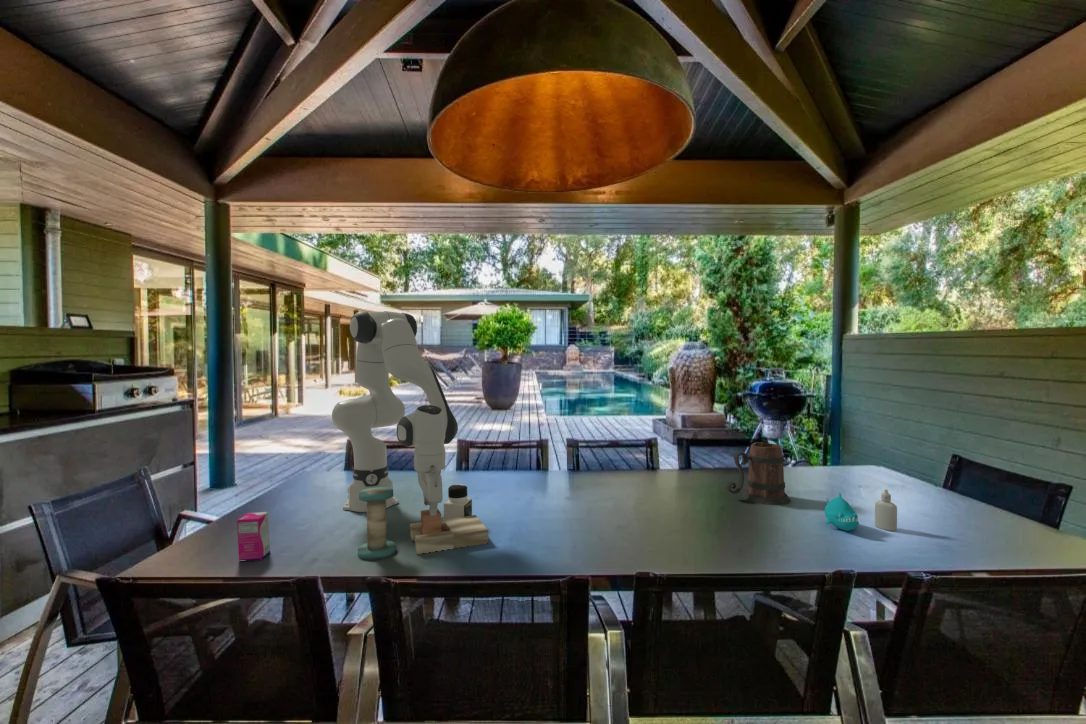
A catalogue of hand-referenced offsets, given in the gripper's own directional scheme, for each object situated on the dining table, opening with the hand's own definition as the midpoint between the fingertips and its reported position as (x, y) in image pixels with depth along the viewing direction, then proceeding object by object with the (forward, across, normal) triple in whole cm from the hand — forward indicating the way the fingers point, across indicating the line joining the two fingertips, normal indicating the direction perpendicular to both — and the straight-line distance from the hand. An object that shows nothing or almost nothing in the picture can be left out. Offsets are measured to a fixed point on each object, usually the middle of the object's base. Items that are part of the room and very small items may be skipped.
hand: (430, 509), depth 145 cm
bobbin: (+10, -2, +15) cm, 18 cm away
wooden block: (+10, 0, 0) cm, 10 cm away
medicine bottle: (+10, +14, -11) cm, 20 cm away
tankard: (+9, -5, -119) cm, 120 cm away
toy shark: (+8, -37, -120) cm, 126 cm away
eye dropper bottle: (+8, -44, -131) cm, 139 cm away
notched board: (+10, 0, -5) cm, 11 cm away
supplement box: (+10, +8, +46) cm, 48 cm away
